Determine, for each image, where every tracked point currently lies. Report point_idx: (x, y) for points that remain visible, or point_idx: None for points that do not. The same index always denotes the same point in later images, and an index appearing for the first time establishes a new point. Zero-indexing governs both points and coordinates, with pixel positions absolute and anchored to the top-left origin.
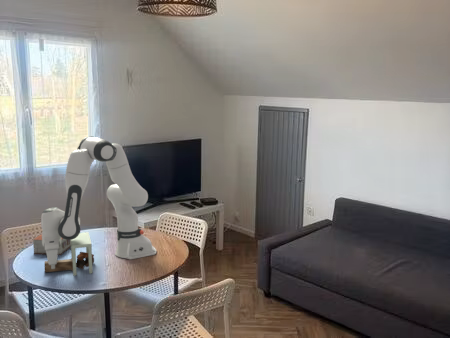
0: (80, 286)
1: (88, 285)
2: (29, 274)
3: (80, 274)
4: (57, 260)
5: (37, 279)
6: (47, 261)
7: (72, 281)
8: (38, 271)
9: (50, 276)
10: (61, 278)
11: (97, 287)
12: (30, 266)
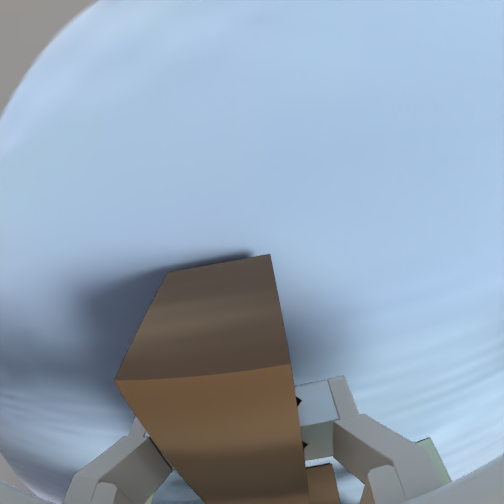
0: (17, 462)
1: (38, 483)
2: (161, 39)
3: (153, 498)
4: (297, 501)
5: (4, 215)
6: (265, 421)
7: (46, 455)
8: (267, 147)
9: (80, 345)
10: (63, 419)
11: (37, 493)
12: (465, 30)
